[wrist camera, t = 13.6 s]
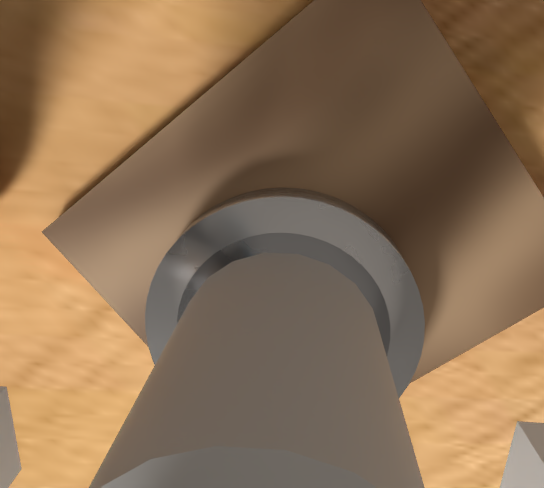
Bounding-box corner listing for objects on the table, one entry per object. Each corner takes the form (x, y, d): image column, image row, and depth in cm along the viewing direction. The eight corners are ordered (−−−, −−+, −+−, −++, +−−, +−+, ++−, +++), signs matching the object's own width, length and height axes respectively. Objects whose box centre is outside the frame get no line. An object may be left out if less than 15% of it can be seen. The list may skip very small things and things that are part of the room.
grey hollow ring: (106, 287, 21) (88, 306, 19) (312, 130, 18) (312, 134, 16) (262, 456, 23) (258, 486, 21) (465, 340, 20) (480, 364, 18)
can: (278, 443, 20) (242, 894, 9) (148, 327, 19) (-86, 689, 8) (417, 340, 18) (596, 756, 7) (283, 202, 17) (234, 444, 6)
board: (55, 223, 21) (41, 231, 20) (378, -50, 17) (383, -59, 16) (263, 449, 24) (260, 467, 23) (578, 267, 20) (594, 278, 19)
